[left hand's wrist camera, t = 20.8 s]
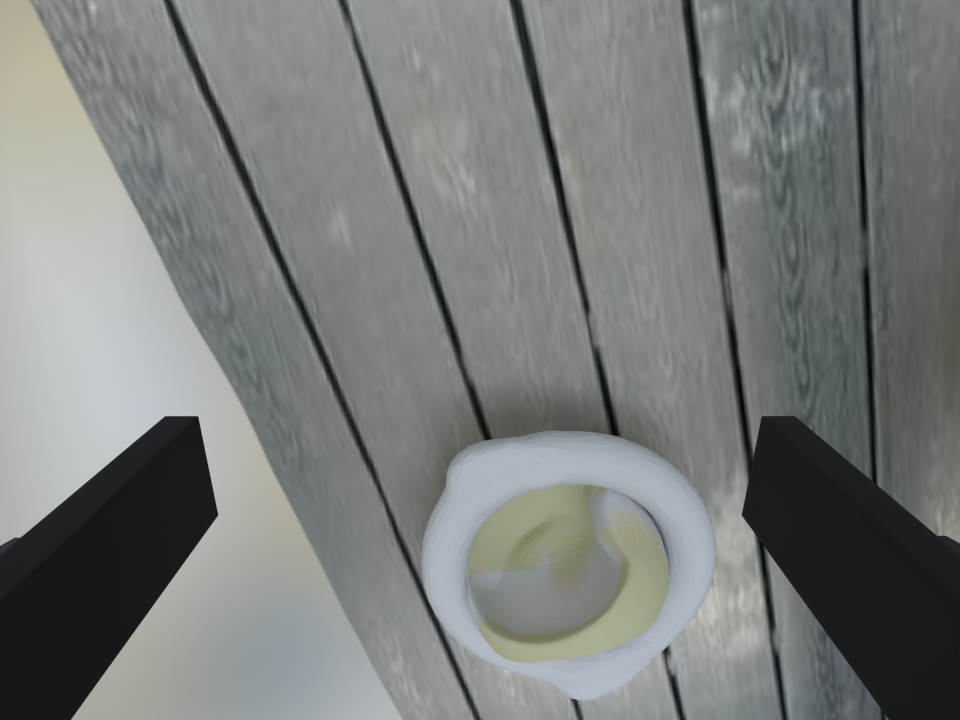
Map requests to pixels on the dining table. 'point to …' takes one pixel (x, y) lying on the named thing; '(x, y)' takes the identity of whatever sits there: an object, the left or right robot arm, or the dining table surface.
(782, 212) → the dining table surface
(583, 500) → the hat
